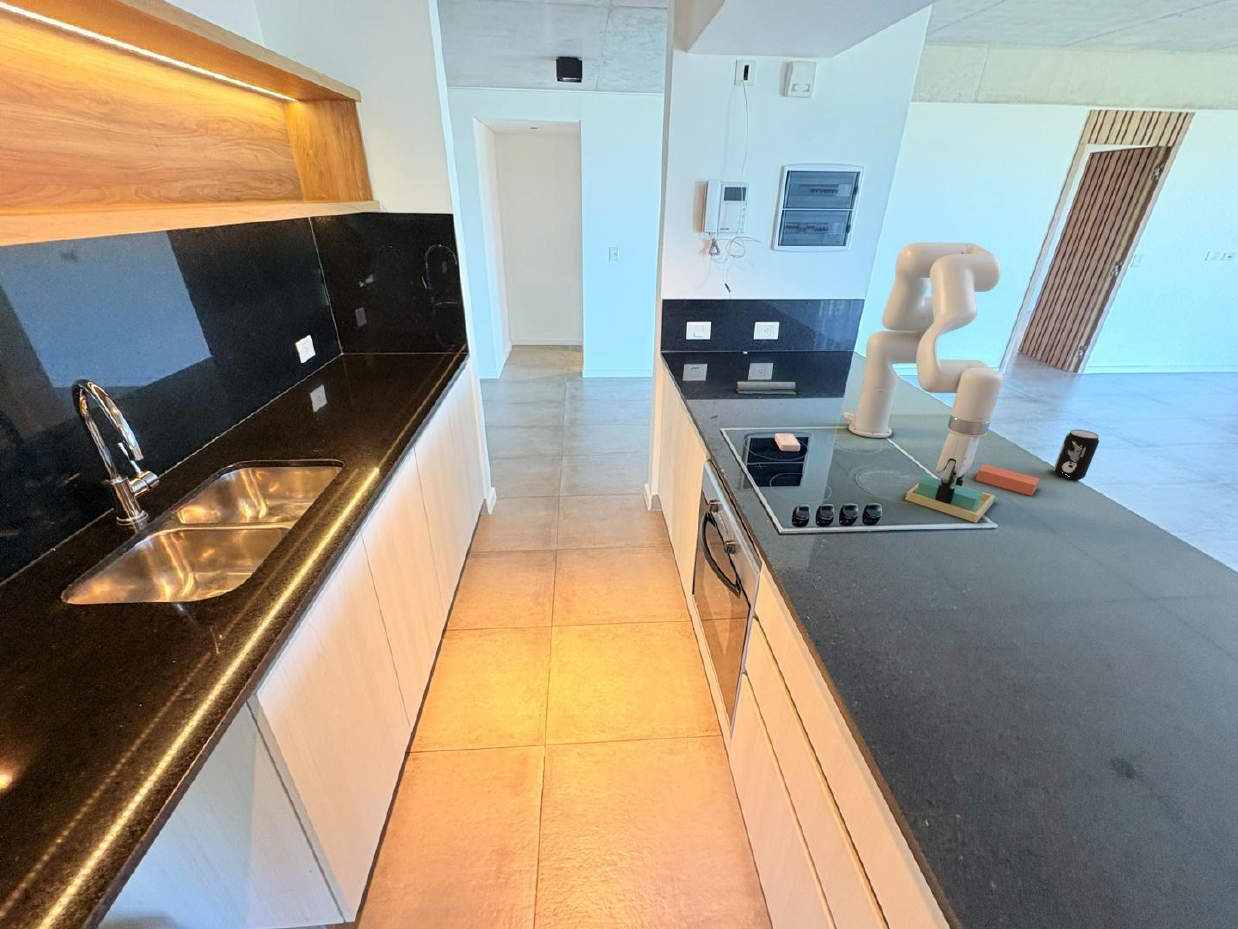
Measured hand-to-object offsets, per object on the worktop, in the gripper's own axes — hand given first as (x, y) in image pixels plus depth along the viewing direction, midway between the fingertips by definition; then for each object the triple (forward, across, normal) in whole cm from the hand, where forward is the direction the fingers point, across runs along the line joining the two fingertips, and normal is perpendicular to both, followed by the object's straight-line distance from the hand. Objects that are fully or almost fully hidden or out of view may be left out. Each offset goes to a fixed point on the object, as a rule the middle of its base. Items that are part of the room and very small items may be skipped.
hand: (947, 496), depth 124 cm
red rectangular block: (+2, -23, +7) cm, 24 cm away
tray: (+2, -3, 0) cm, 3 cm away
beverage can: (+2, -41, +17) cm, 44 cm away
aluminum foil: (+1, -49, -80) cm, 94 cm away
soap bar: (+2, -6, -45) cm, 45 cm away
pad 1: (0, 0, 0) cm, 0 cm away
